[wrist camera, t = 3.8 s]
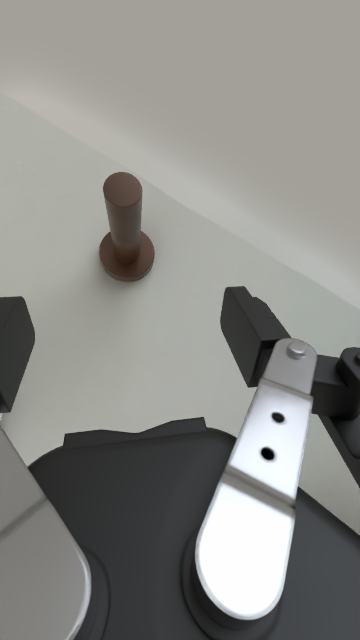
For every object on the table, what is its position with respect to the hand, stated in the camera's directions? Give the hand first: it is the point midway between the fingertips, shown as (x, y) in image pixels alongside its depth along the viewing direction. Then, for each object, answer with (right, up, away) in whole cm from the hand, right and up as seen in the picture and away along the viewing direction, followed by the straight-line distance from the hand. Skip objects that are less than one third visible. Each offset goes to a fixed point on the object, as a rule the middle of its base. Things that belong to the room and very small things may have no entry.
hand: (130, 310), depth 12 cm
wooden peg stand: (-3, +5, +15) cm, 16 cm away
